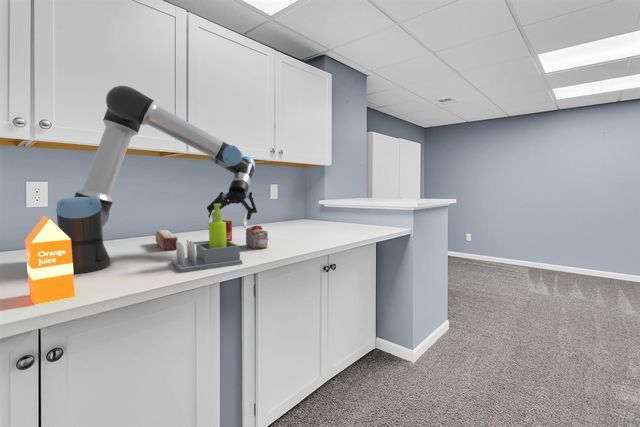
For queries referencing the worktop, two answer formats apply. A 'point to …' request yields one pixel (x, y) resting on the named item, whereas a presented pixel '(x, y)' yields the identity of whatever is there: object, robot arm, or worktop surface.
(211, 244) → the soap dispenser
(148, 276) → the worktop surface
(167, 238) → the snack package
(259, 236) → the food item
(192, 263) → the dish rack
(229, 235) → the canned food
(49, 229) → the orange juice
